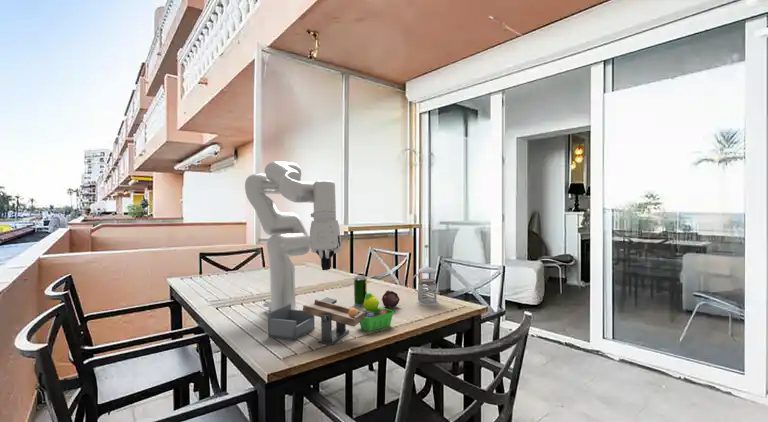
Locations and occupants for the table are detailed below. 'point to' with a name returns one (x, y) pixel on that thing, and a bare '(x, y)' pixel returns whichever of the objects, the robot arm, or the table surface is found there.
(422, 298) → the french press
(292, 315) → the bin
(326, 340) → the lever stand
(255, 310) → the table surface
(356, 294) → the beer can
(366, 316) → the fruit basket
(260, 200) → the robot arm
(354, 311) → the ball
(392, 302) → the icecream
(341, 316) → the lever
